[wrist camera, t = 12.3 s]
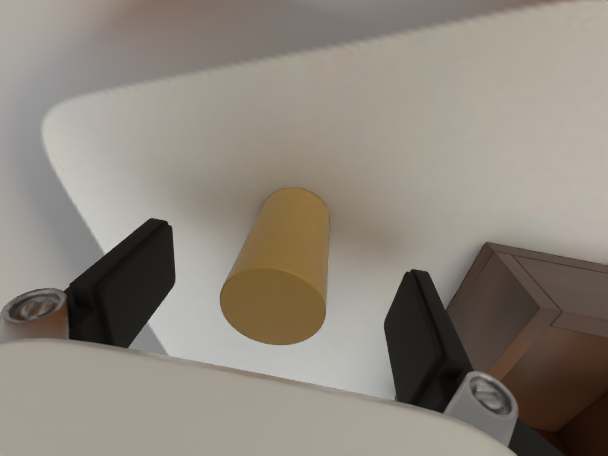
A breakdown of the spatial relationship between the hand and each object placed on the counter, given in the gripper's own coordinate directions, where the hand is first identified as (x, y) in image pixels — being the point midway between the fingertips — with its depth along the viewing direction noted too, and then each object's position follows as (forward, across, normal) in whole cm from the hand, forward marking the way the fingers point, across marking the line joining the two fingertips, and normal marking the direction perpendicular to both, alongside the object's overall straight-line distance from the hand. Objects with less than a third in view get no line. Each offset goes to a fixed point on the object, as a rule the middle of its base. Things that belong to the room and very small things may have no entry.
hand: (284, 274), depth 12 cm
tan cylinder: (+4, 0, -1) cm, 4 cm away
